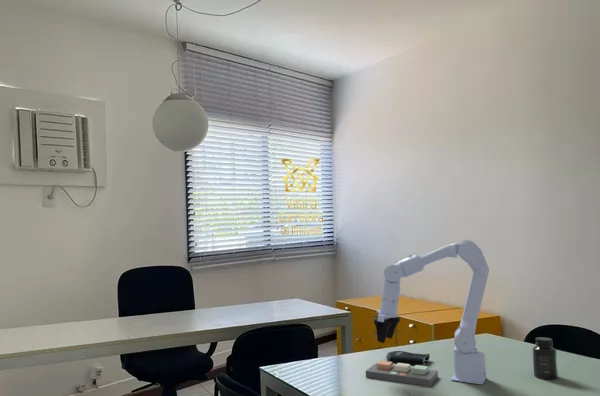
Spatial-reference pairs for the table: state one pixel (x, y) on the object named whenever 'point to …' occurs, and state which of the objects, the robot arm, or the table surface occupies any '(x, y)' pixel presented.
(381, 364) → the terracotta key
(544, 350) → the supplement bottle
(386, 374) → the keypad
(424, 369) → the sage key
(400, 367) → the sand key
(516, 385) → the table surface
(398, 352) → the electronic device
